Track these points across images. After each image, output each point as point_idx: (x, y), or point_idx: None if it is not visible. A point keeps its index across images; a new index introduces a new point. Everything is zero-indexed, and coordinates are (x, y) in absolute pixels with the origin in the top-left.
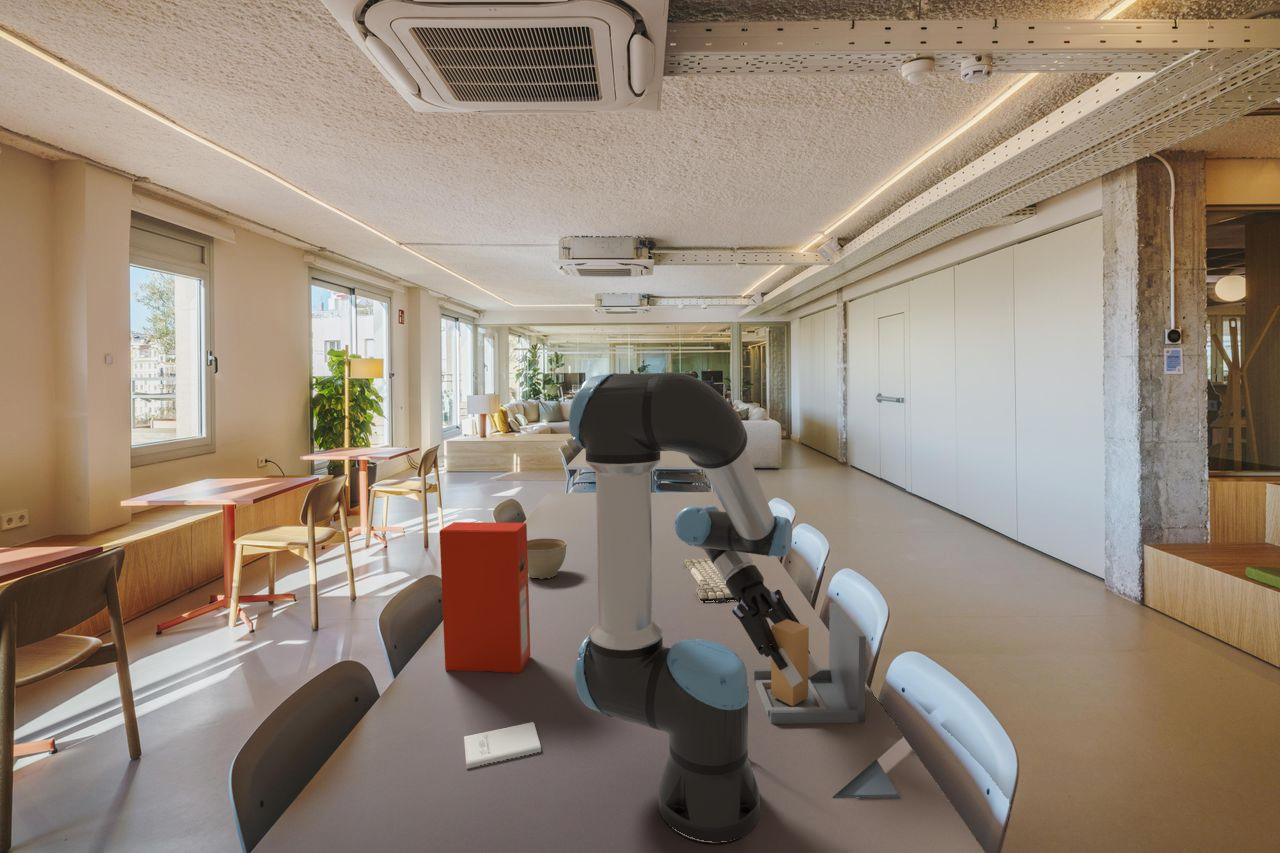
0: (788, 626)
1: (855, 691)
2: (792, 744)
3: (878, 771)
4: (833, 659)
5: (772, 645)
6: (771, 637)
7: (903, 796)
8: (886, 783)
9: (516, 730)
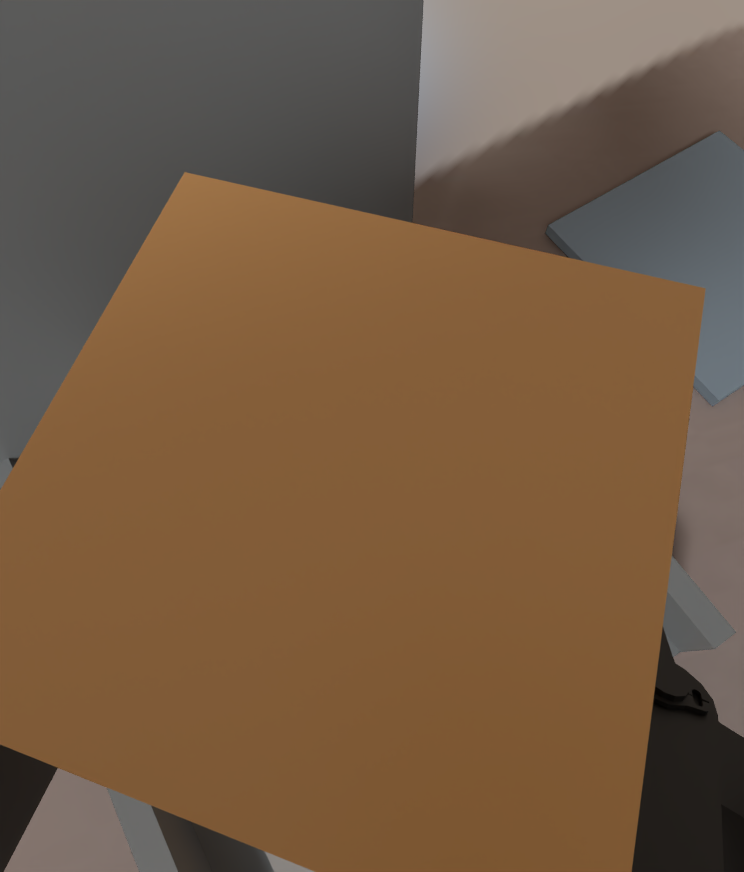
0: (369, 498)
1: (375, 198)
2: (698, 507)
3: (649, 190)
4: (3, 380)
5: (713, 746)
6: (668, 832)
7: (696, 132)
8: (692, 164)
9: None
